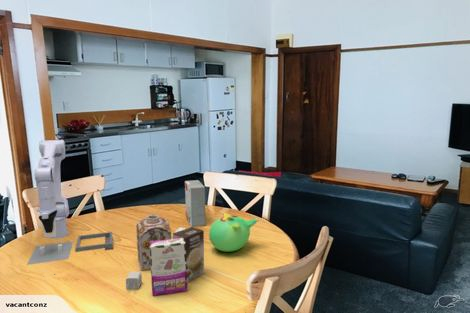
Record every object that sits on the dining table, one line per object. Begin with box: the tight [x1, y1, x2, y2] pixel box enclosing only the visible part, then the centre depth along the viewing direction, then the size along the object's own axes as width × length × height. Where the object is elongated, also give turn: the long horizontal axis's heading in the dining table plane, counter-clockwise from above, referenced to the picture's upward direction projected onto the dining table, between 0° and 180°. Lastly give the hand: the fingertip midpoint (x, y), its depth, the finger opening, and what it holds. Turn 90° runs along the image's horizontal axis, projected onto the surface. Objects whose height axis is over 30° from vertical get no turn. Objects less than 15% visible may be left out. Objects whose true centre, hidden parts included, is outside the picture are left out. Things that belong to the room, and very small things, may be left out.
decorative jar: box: [136, 214, 173, 272], centre depth 130 cm, size 12×12×18 cm
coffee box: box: [172, 226, 205, 283], centre depth 120 cm, size 9×6×16 cm
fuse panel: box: [26, 241, 74, 266], centre depth 138 cm, size 18×14×4 cm
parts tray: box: [75, 231, 114, 253], centre depth 148 cm, size 14×14×2 cm
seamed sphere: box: [173, 226, 187, 233], centre depth 149 cm, size 10×7×7 cm
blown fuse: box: [42, 218, 56, 239], centre depth 137 cm, size 3×4×7 cm
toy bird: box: [208, 212, 259, 252], centre depth 142 cm, size 18×17×15 cm
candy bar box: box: [150, 238, 188, 297], centre depth 111 cm, size 11×5×16 cm, turn 105°
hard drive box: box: [184, 179, 207, 228], centre depth 175 cm, size 16×8×20 cm, turn 17°
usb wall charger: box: [125, 271, 143, 291], centre depth 113 cm, size 4×7×4 cm, turn 2°
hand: (49, 230), depth 137 cm, fingers closed on blown fuse, 3 cm apart
